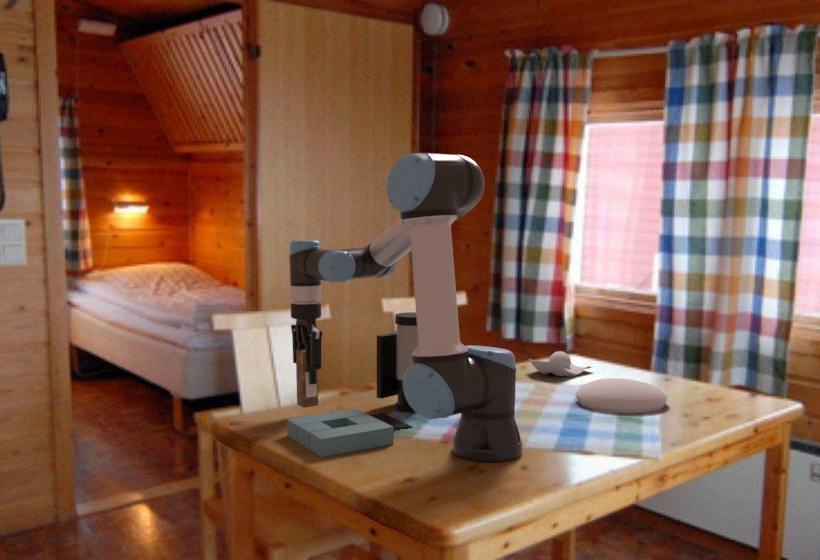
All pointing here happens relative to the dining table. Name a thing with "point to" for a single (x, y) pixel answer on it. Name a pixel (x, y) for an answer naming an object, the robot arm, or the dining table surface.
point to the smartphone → (391, 421)
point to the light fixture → (396, 359)
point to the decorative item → (621, 396)
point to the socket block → (339, 432)
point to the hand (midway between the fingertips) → (307, 394)
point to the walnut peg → (303, 381)
